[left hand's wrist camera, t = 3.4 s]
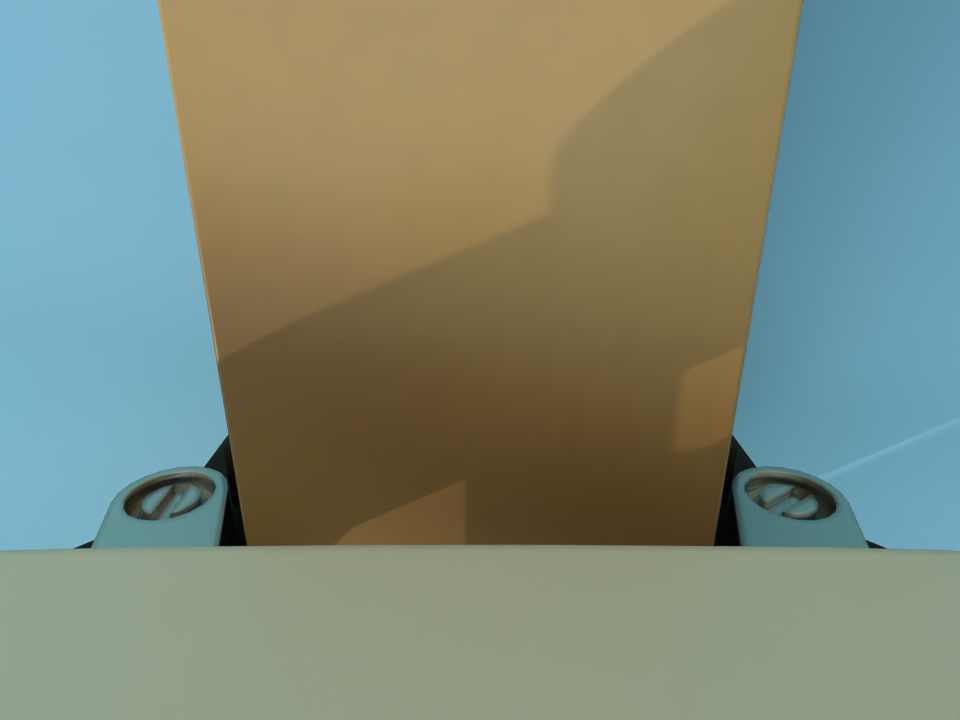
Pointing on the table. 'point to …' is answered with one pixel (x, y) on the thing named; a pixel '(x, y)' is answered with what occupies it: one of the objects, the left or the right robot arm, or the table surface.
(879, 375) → the table surface
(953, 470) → the table surface
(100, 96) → the table surface
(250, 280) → the bar
